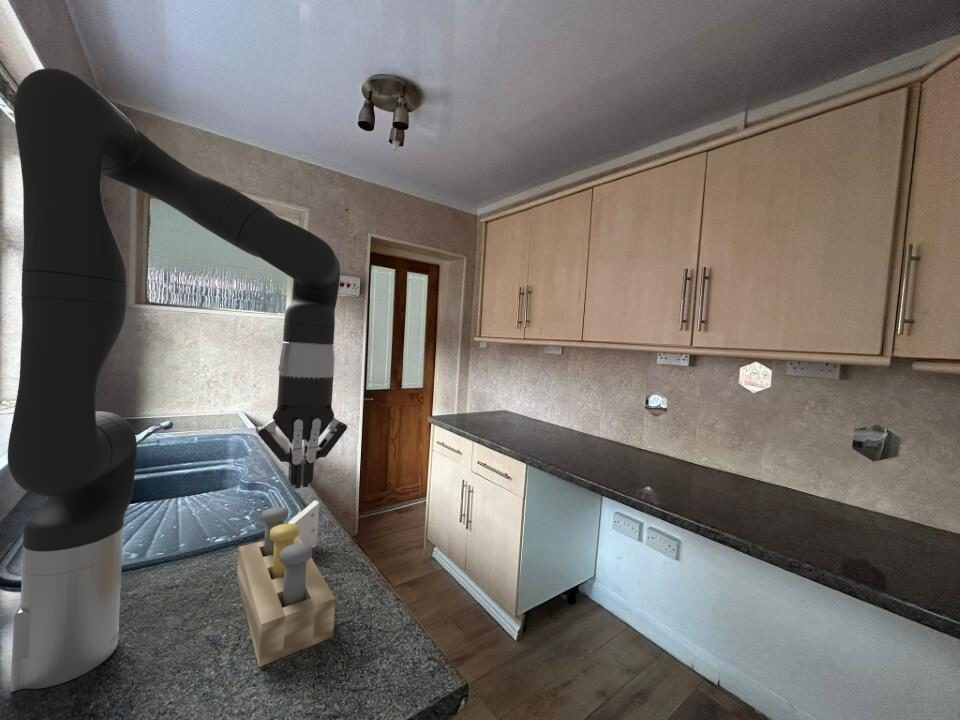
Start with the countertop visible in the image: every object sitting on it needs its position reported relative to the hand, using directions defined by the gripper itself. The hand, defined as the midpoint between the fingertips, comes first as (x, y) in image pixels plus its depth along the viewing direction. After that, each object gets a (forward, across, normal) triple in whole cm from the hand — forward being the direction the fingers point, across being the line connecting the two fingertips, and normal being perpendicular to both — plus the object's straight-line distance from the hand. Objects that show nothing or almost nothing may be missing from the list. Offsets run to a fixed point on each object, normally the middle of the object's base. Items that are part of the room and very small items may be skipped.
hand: (300, 486), depth 58 cm
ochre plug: (+19, 0, +8) cm, 21 cm away
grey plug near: (+19, 0, 0) cm, 19 cm away
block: (+23, 0, +8) cm, 24 cm away
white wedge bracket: (+23, +7, +25) cm, 35 cm away
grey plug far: (+19, 0, +16) cm, 25 cm away
